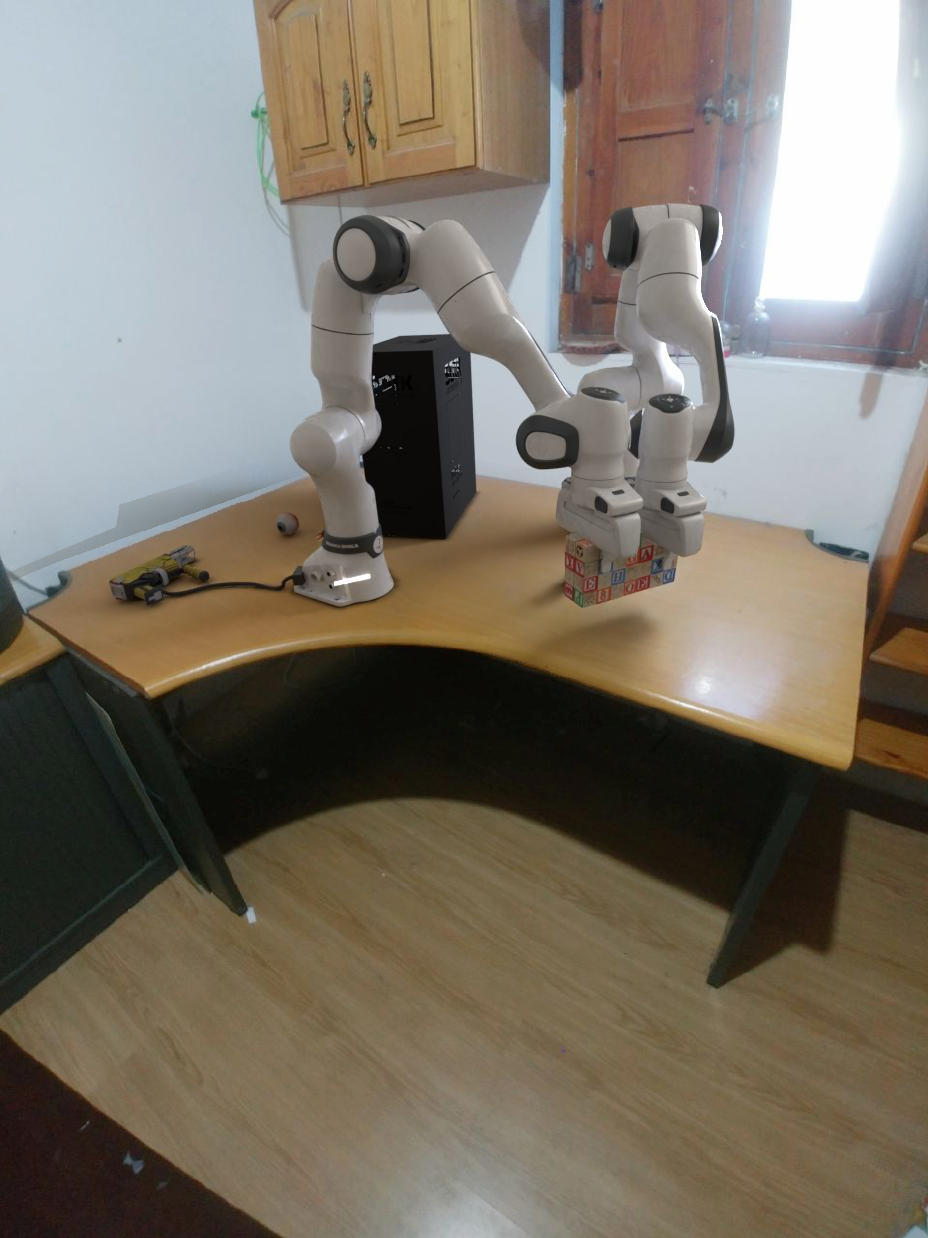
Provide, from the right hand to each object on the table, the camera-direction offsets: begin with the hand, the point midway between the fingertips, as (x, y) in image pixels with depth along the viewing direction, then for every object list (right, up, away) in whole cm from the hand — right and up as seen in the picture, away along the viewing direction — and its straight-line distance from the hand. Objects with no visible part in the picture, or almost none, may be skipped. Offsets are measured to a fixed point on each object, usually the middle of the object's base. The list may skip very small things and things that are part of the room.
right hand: (651, 560), depth 116 cm
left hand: (-13, -1, -6) cm, 14 cm away
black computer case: (-46, +20, +59) cm, 77 cm away
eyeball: (-84, +12, +49) cm, 98 cm away
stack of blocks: (-6, -5, 0) cm, 8 cm away
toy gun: (-104, -3, +26) cm, 107 cm away
